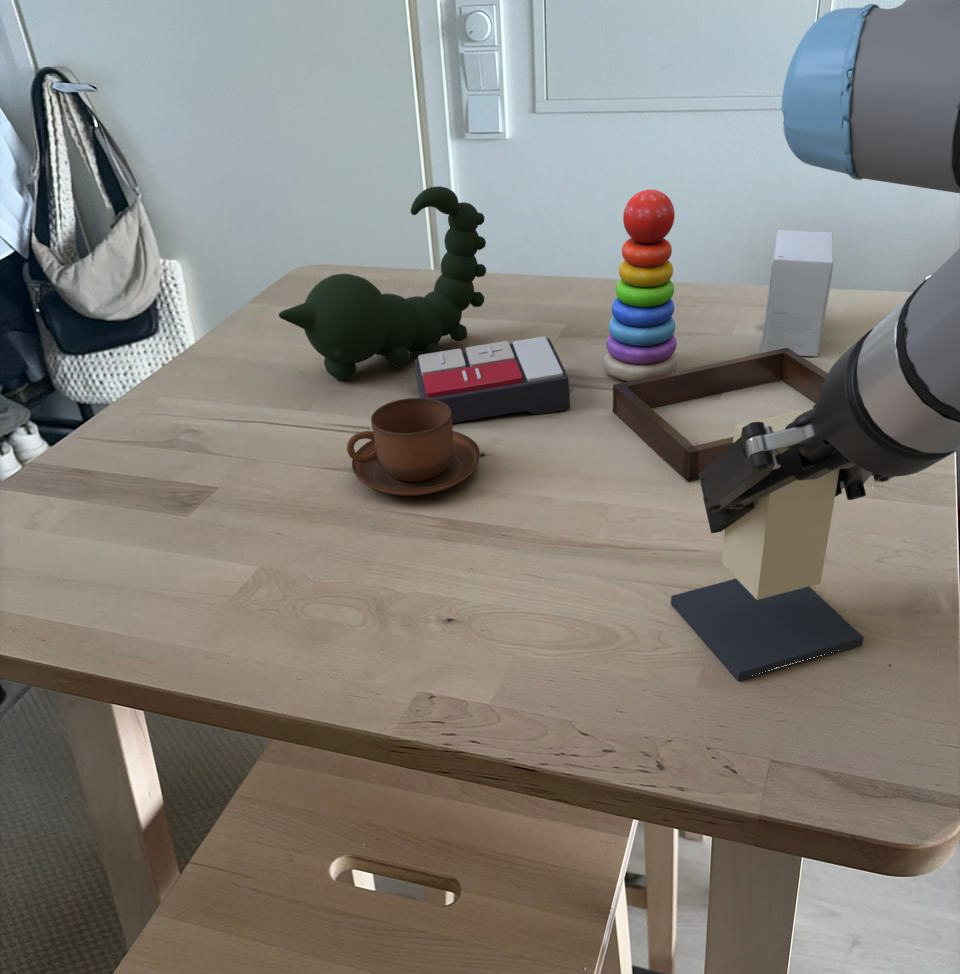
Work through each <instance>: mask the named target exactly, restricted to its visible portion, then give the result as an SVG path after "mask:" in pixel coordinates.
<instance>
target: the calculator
mask: <svg viewBox="0 0 960 974" xmlns="http://www.w3.org/2000/svg"><path fill="white" fill-rule="evenodd" d="M413 363H414V370H415V375H416V381H417V387H418V391H419V396H420V397H419V398H429V399H434V400H438V401H441V402H443V403H445V404H446V405H447V406H448V407H449V408H450V409H451V415H452V424H454V423H461V422H467V421H473V420H478V419H480V420H481V419H486V418H491V417H497V416H504V415H511V414H515V413H516V414H517V413H521V412H528V413H530V414H533V415H542V414H548V413H555V412H560V411H566V410H569V409H570V408H571V399H570V398H571V397H570V396H571V395H570V384H569V383H570V382H569V375H568V373H567V371H566V369H565V367H564V365H563V362H562V360H561V359H560V356H559V355H558V353H557V351H556V349H555V346H554V345H553V343H552V340H551V339H550V338H549V337H546V336H537V337H533V338H526V339H519V340H514V341H512V343H510V342H509V341H508V340H503V341H497V342H496V341H495V342H490V343H484V344H478V345H472V346H468V347H467V346H466V347H465V350H463V351H462V348H453V349H448V350H440V352H435V353H429V354H423V353H422V354H419V355H418V356H417V358H416V359H414V362H413Z"/></svg>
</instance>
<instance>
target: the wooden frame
mask: <svg viewBox="0 0 960 974" xmlns="http://www.w3.org/2000/svg"><path fill="white" fill-rule="evenodd" d="M828 373H829V372H827V371H825V370H823V369H822V368H821V367H819V366H817V365H815V364H814V363H812V362H811V361H809V360H808V359H806V358H805V357H804V356H800V355H798V354H797V353H795V352H793V351H792V350H790V349H789V348H783V349H778V350H774V351H769V352H764V353H760V352H759V353H754V354H750V355H746V356H741V357H736V358H731V359H727V360H722V361H717V362H714V363H708V364H703V365H699V366H695V367H689V368H684V369H679V370H676V371H675V370H674V371H673V372H670V373H665V374H661V375H656V376H651V377H646V378H642V379H637V380H632V381H623V382H619V383H614V384H612V413H613V414H614V415H615V416H616V417H618V418H619V420H621V421H622V422H623V423H624V424H625V425H626V426H627V427H628V428H629V429H631V430H632V432H634V433H635V434H636V435H637V436H638V437H639V438H640V439H641V440H642V441H643V442H645V443H646V444H647V445H648V447H649V448H651V449H652V450H653V451H654V453H656V454H657V455H658V456H659V457H660V458H661V459H663V460H664V461H665V462H666V464H667V465H669V467H671V468H672V469H673V470H674V471H675V472H676V473H678V474H679V475H680V476H681V477H682V478H683V479H684V480H685V481H686V482H688V483H689V482H692V481H696V480H700V479H699V473H700V472H701V471H702V470H703V469H704V468H706V467H707V466H708V465H709V464H710V463H711V462H712V461H714V460H715V459H716V458H717V457H718V456H719V455H720V454H722V453H723V452H724V451H725V450H726V449H727V448H729V447H730V446H731V445H732V444H733V438H734V436H730V437H726V438H721V439H717V440H713V441H712V440H711V441H708V442H703V443H700V444H695V445H694V444H693V443H692V442H691V441H689V439H687V438H686V437H685V436H684V435H683V434H681V432H679V430H677V429H675V427H673V426H672V425H671V423H669V422H668V421H667V420H665V419H664V418H663V417H662V416H661V415H660V414H659V413H657V412H656V411H655V410H654V409H653V408H658V407H662V406H667V405H671V404H676V403H680V402H686V401H690V400H694V399H699V398H703V397H708V396H712V395H716V394H722V393H726V392H730V391H735V390H740V389H744V388H748V387H753V386H758V385H762V384H768V383H772V382H777V381H782V382H784V383H785V384H787V385H788V386H789V387H791V388H793V389H794V390H796V391H797V392H798V393H800V394H802V395H803V396H804V397H806V398H807V399H809V400H810V401H812V402H813V403H815V404H816V403H818V401H819V398H820V394H821V391H822V388H823V385H824V382H825V379H826V377H827V375H828Z"/></svg>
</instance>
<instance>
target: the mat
mask: <svg viewBox="0 0 960 974" xmlns="http://www.w3.org/2000/svg"><path fill="white" fill-rule="evenodd" d="M670 605H671V606H672V607H673V608H674V610H675V611H676V612H677V613H678V614H679V615H680V616H681V618H682V619H683V620H684V621H685V622H686V623H687V625H688V626H689V627H690V628H691V629H692V630H693V631H694V633H695V634H696V635H697V636H698V637H699V638H700V639H701V641H702V642H703V643H704V644H705V645H706V647H707V648H709V650H710V651H711V652H712V653H713V654H714V655H715V656H716V658H717V659H718V660H719V661H720V663H721V664H722V665H723V666H724V667H725V668H726V670H728V672H729V673H730V674H731V675H732V676H733V677H734V678H735V680H736V681H737V682H741V681H745V680H748V679H751V678H754V677H755V678H756V677H758V676H762V675H765V674H768V673H771V672H775V671H780V670H783V669H786V668H789V667H792V666H796V665H799V664H800V665H801V664H803V663H807V662H811V661H814V660H816V659H821V658H824V657H827V656H830V655H831V656H832V655H833V654H834V655H835V654H838V653H841V652H844V651H848V650H851V649H854V648H858V647H861V646H863V642H864V636H863V635H862V634H861V633H860V632H859V631H858V630H857V629H856V628H855V627H854V626H853V625H851V623H849V621H847V620H846V619H845V618H844V617H843V616H842V615H841V614H840V613H838V612H837V611H836V610H835V609H834V608H833V607H832V606H831V605H830V604H829V603H828V602H826V601H825V600H824V599H823V598H822V597H821V596H820V595H819V594H818V593H817V592H816V591H815V590H813V589H812V587H811V586H809V587H805V588H801V589H797V590H794V591H790V592H786V593H782V594H778V595H774V596H770V597H767V598H763V599H759V600H756V598H755V597H754V596H753V595H752V594H751V593H750V592H749V591H748V590H747V589H746V588H745V587H744V586H743V585H742V584H741V583H740V582H739V581H738V580H737V579H736V578H733V579H730V580H725V581H722V582H718V583H714V584H710V585H707V586H703V587H699V588H695V589H692V590H688V591H685V592H684V591H683V592H680V593H676V594H673V595H671V596H670ZM838 650H839V651H838ZM831 652H832V653H831ZM824 654H825V655H824ZM820 655H822V656H820ZM817 656H818V657H817ZM813 657H815V658H813ZM809 658H811V659H809ZM807 659H808V660H807ZM802 660H804V661H802ZM797 661H798V662H797ZM799 661H801V662H799ZM795 662H797V663H795ZM790 663H791V665H789V664H790ZM792 663H794V664H792ZM787 664H788V665H787ZM784 665H787V666H784ZM781 666H784V667H781ZM776 667H780V668H777V669H774V668H776ZM771 669H773V670H771ZM768 670H770V671H768ZM765 671H766V672H765ZM762 672H763V673H762ZM759 673H760V674H759ZM752 675H753V676H752Z"/></svg>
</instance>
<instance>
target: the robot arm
mask: <svg viewBox="0 0 960 974" xmlns="http://www.w3.org/2000/svg"><path fill="white" fill-rule="evenodd" d="M781 112H782V115H783V123H782V124H783V126H782V129H783V130H782V131H783V135H784V138H785V141H786V143H787V146H788V148H789V150H790V151H791V152H792V153H793V155H794V156H795V157H796V158H797V159H798V160H799V161H801V162H802V163H803V164H805V165H808V166H812V167H816V168H819V169H825V170H828V171H833V172H837V173H842V174H846V175H848V176H849V177H850V178H852V180H857V181H861V180H863V179H864V180H871V181H877V182H884V183H889V184H897V185H903V186H910V187H915V188H922V189H928V190H935V191H942V192H948V193H955V194H960V0H905V1H904V2H903V3H901V4H900V5H898V6H896V7H892V8H882V7H880V6H879V5H878V4H875V3H868V4H866V5H864V6H862V7H844V8H837V9H834V10H831V11H828V12H826V13H825V14H823V15H822V16H821V17H819V18H818V19H816V21H814V22H813V23H812V25H811V26H810V27H809V28H808V29H807V31H806V32H805V33H804V35H803V36H802V38H801V39H800V41H799V43H798V45H797V47H796V48H795V51H794V53H793V55H792V57H791V60H790V63H789V66H788V68H787V72H786V75H785V79H784V83H783V88H782V96H781ZM827 373H828V375H827V377H826V379H825V382H824V385H823V388H822V391H821V394H820V398H819V401H818V403H815V404H814V405H813V407H812V408H810V409H809V410H807V411H804V412H805V413H802V414H801V415H799V416H798V417H796V418H795V420H794V421H793V422H792V423H790V424H789V425H787V426H786V428H785V430H782V431H778V432H773V430H772V427H771V426H766V427H765V426H764V423H763V422H752V423H749V424H748V425H746V426H745V427H743V428H742V433H741V437H740V438H739V439H738V440H737V441H735V442H734V443H733V444H732V445H731V446H730V447H729V448H727V449H726V450H725V451H724V452H723V453H722V454H720V455H719V456H718V457H717V458H716V459H715V460H714V461H712V462H711V463H710V464H709V465H708V466H707V467H706V468H704V469H703V470H702V471H701V472H700V473H699V479H698V480H699V483H700V487H701V492H702V496H703V497H702V499H703V503H704V508H705V513H706V517H707V521H708V525H709V530H710V534H716V533H717V534H718V533H721V532H723V531H725V529H726V528H727V527H728V526H730V525H731V524H733V523H734V522H735V521H737V520H738V519H740V518H741V517H742V516H744V515H745V514H746V513H748V512H749V511H751V510H752V509H753V508H755V507H754V503H753V502H754V501H756V500H758V499H760V498H762V497H764V496H766V495H768V494H770V493H772V492H774V491H776V490H778V489H780V488H782V487H784V486H786V485H788V484H790V483H792V482H794V481H796V480H799V481H800V480H811V479H818V478H820V477H822V476H824V475H826V474H828V473H830V472H832V471H834V470H837V469H840V470H839V476H838V482H837V488H836V494H835V498H836V497H838V496H840V495H841V494H842V493H843V491H842V490H843V489H844V491H845V495H846V499H847V501H853V500H858V499H861V498H864V497H866V496H867V494H866V493H867V492H866V489H865V488H866V487H865V485H864V484H865V483H866V482H867V481H868V480H869V478H870V477H873V480H874V482H875V483H879V482H880V483H885V482H888V481H889V480H890V479H893V478H894V477H906V476H910V475H914V474H917V473H919V472H922V471H924V470H926V469H928V468H930V467H932V466H933V465H935V464H937V463H938V462H940V461H943V460H944V459H946V458H948V457H949V456H951V455H953V454H954V453H956V452H958V451H959V450H960V247H959V248H958V249H957V250H956V251H955V252H954V253H953V254H952V255H951V256H950V257H949V258H948V259H947V260H946V261H945V262H944V263H943V264H942V265H941V266H940V267H939V268H938V269H937V270H936V271H935V272H933V273H929V274H928V275H926V277H925V278H924V279H922V282H921V283H920V284H919V285H918V286H917V287H916V288H915V290H914V291H912V293H911V294H910V295H909V296H908V297H907V298H905V299H904V300H903V301H902V302H901V303H899V305H898V306H897V307H896V308H894V309H893V310H892V311H891V312H889V313H888V314H887V315H886V316H885V317H884V318H883V319H882V320H880V321H879V322H878V323H877V324H876V325H875V326H874V327H873V328H871V329H870V330H868V331H867V332H866V333H865V334H864V335H863V336H862V337H860V338H859V339H858V340H857V341H856V342H855V343H854V344H853V345H852V346H851V347H849V348H848V349H847V350H845V352H844V353H843V354H842V355H841V356H839V358H838V359H836V361H835V362H834V363H833V365H832V366H831V368H830V369H829V371H828V372H827Z"/></svg>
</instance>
